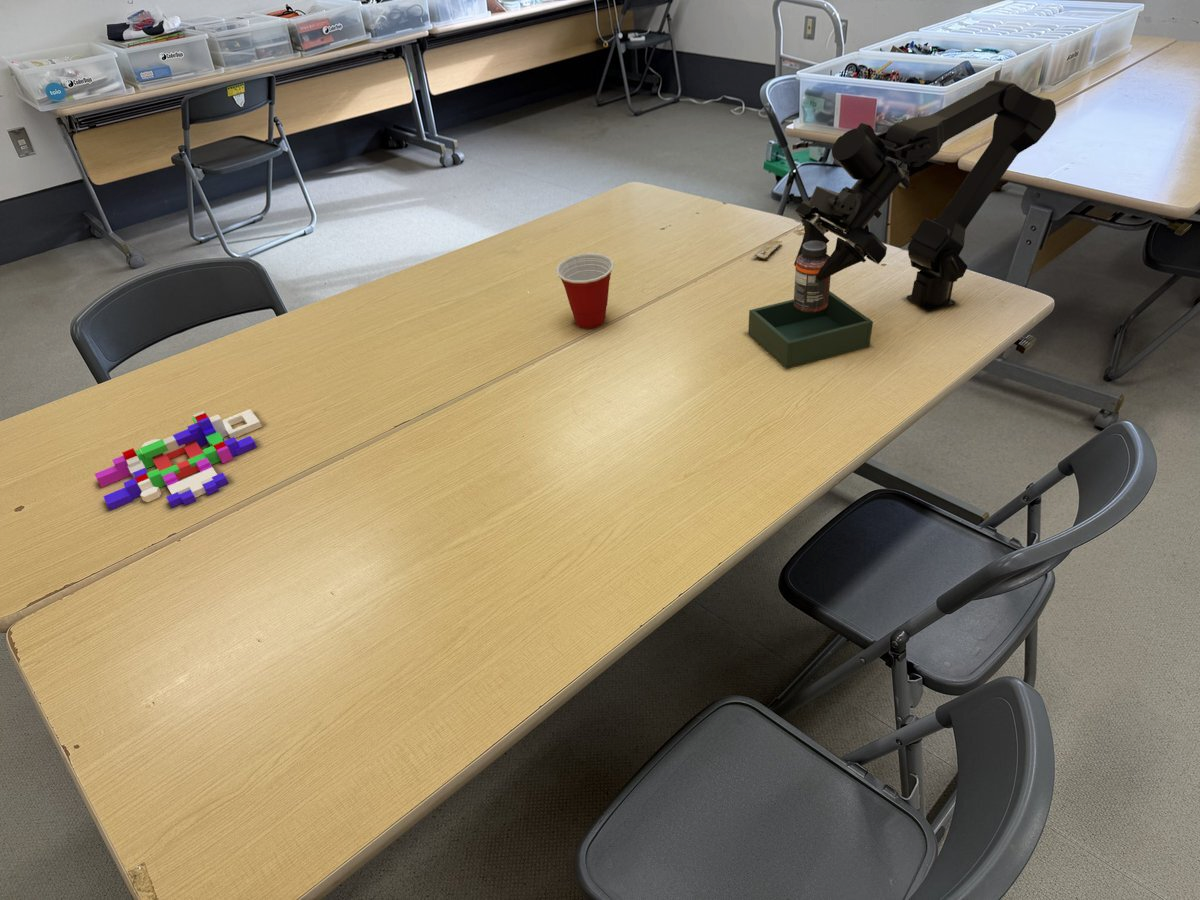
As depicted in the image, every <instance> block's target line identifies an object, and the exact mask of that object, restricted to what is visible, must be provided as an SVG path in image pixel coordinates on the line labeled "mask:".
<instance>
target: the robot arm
mask: <svg viewBox="0 0 1200 900" xmlns="http://www.w3.org/2000/svg"><path fill="white" fill-rule="evenodd" d="M994 115H996V117H995V119H994V122H993V128H992V136H991V141H990V142H989V144H988V145H987V147H986V148H985V149H984V151H983V153H982V154H981V156H979V159H978V160H977V161H976V163H975V164H974V166H972V169H970V172H969V173H968V174H967V176H966V178H965V179H964V181H963V182H962V183H961V185H960V186H959V187H958V189H957V190H956V192H955V194H954V195H953V197H951V199H950V201H949V202H948V203H947V205H946V207H945V208H944V210H942V212H941V214H939V215H938V216H937V217H935V218H933V219H929V218H924V219H923V220H922V221H921V222H920V224H919V226H918V228H917V229H916V231H915V232H914V233H913V234H912V235H910V238H909V239H911V240H910V242H909V244H908V245H907V252H908V253H907V256H908V259H909V260H910V266H911V267H912V268H915V269H916V270H918V271H917V272H916V276H915V280H914V281H913V284H912V292H911V294H908V295H907V296H906V300H908V301H909V302H911V303H912V304H914V305H916V306H917V307H918V308H920V309H922V310H923V311H925V312H928V313H929V312H933V311H938V310H941V309H945V308H949V307H953V306H956V304H957V302H956V300H954V299H952V298H951V297H952V293H953V288H954V284H955V282H958V280H959V279H962V278H963V277H964V275H965V274H966V271H967V270H968V267H969V266H968V264H967V263H965V260H963V259H962V258H961V256H960V254H961V252H962V250H963V249H964V246H965V238H966V230H967V228H968V226H969V225H970V223H972V221H973V219H974V218H975V216H976V215H977V213H978V212H979V210H980V209H981V207H982V206H983V205H984V203H985V202H986V200H987V199H988V198H989V196H990V194H991V193H992V192H993V191H994V189H995V187H996V186H997V185H998V184H999V183H1000V181H1001V179H1002V178H1003V176H1004V175H1005V173H1006V172H1007V171H1008V169H1009V167H1010V166H1011V165H1012V163H1013V162H1014V160H1015V159H1016V158H1017V156H1018V155H1019V154H1021V153H1022V152H1024V151H1026V150H1027V149H1029V148H1030V147H1032V146H1034V145H1036V144H1037V143H1038V142H1039V141H1040V140H1041V139H1042V138H1043V136H1044V135H1045V134H1046V133H1047V132H1048V131H1049V129H1050V128H1051V127H1052V125H1053V124H1054V122H1055V120H1056V118H1057V108H1056V104H1055V101H1054V100H1052V99H1050V98H1047V97H1043V96H1038V95H1034V94H1032V93H1031V92H1028V91H1026V90H1024V89H1023V88H1021V87H1020V86H1019V85H1018V84H1016V83H1014V82H1010V81H1006V80H1001V79H991V80H989V81H987V82H986V83H985V84H984V85H983V86H982V87H980V88H979V89H976V90H975V91H973V92H971V93H969V94H968V95H966V96H964V97H962V98H960V99H958V100H956V101H954V102H953V103H950V104H949V105H947V106H945V107H943V108H941V109H939V110H937V111H935V112H934V113H932V114H929V115H924V116H916V117H915V116H914V117H910V118H907V119H904V120H901V121H898V122H895V123H893V124H892V125H891V126H889V128H888V129H887V130H885V131H882V132H880V133H876V131H875V129H874V128H873V127H872V126H871V124H868V123H865V122H860V123H859V125H858V126H857V127H855V128H852V129H850V130H848V131H846V132H845V133H843V134H842V135H840V136H839V137H838V138H837V139H836V140H835V142H834V143H833V146H832V148H831V155H832V158H833V159H834V160H835V161H836V162H837V163H838V164H839V166H840V167H841V168H842V169H843V170H844V171H845V172H846V173H847V175H849V176H850V177H851V178H852V179H853V180H856V181H855V183H854V184H853V185H852V186H851V188H850V187H848V186H845V187H843V188H842V189H841V190H840V191H839V192H837V191H834V190H831V189H827V188H824V187H822V186H818V185H816V187H815V188H814V191H813V193H812V195H811V197H810V200H804V201H801V202H800V204H799V205H798V206H797V207H796V209H795V210H794V213H795V214H796V215H797V216H798V217H800V218H801V223H802V224H803V229H804V233H803V236H802V240H801V244H800V247H799V249H798V253H797V255H796V257H795V259H794V263H793V265H794V266H795V267H796V260H797V258H798V256H799V255H801V254H802V250H803V244H804V243H806V242H808V241H822V242H824V243H826V244H827V245H828V243H829V242H830V239H829V238H828V237H827V236H825V234H827V233H828V232H830V233H832V234H834V235H835V236H837V238H836V243H835V249H834V250H833V252H832V253H831V254H830V255H829V256H830V257H829V259H828V260H827V261H826V263H825V264H824V265H823V267H822V268H821V269H820V271H819V273H818V274H817V276H816V279H817V280H818V281H822V280H824V279H826V278H827V277H829V276H831V277H832V276H834V275H835V274H837V273H839V272H841V271H843V270H845V269H847V268H849V267H852V266H854V265H857V264H859V263H861V262H862V263H866V262H867V259H868V260H869V261H871V262H872V263H875V264H877V265H879V264H880V263H881V262H882V261H883V259H884V258H885V257H886V256H887V250H888V247H887V246H886V245H885V243H883V242H882V241H881V240H880V239H879V238H878V236H876V234H875V233H873V232H872V231H870V230H868V229H865V227H867V225H868V223H870V221H871V220H872V219H873V218H875V219H879V218H880V217H881V216H882V215H883V213H882V212H881V211H880V208H881V207H882V206H883V205H884V203H885V202H886V201H887V200H888V198H889V197H890V196H891V195H892V194H893V192H894V191H895V190H896V188H897V187H898V186H899V187H901V188H903V189H905V190H906V189H907V190H908V189H909V187H910V170H907V169H905V168H904V167H903V168H902V167H899V166H898V164H896V162H898V163H901V164H904V165H905V166H906V165H907V166H908V167H912V168H917V167H920V166H923V165H924V164H925V163H926V162H928V161H929V160H931V159H932V158H933V157H934V156H936V155H937V154H939V152H940V150H941V148H942V146H944V144H945V143H946V142H947V141H948V140H950V139H952V138H954V137H956V136H958V135H960V134H961V133H964V132H965V131H967V130H969V129H971V128H973V127H974V126H976V125H978V124H980V123H982V122H983V121H985V120H988V119H989V118H991V117H992V116H994ZM886 158H888V160H887V159H886ZM889 159H891V160H889ZM895 161H896V162H895Z"/></svg>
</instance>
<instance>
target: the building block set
mask: <svg viewBox="0 0 1200 900" xmlns="http://www.w3.org/2000/svg"><path fill="white" fill-rule="evenodd" d="M191 418H192V422H193V423H192V424H190V425H188V426H186V428H187V429H185V430H182V431H179V432H176V433H174V434H172V435H170V436H168V437H166V438H164V439H163V438H162V439H158V438H157V439H156V438H154V439H152V440H149V441H146V442H144V443H143V444H142V445H141V446H140V448H138V449H136V450H135V449H134V448H133V447H132V448H130V449H128V450H125V451H122V452H121V453H122V455H121V456H118V457H116V458H113V459H112V463H113V465H112V466H110V467H108V468H105V469H102V470H100V471H98V472H96V473H94V476H95V478H96V479H95V480H97V482H98V483H99V485H100V487H101V488H103V487H107V486H109V485H111V484H113V483H116V482H118V481H121V480H123V479H125V478H128V477H131V476H132V479H129V480H127V481H123V483H122V484H123V486H124V487H123V488H120V489H118V490H115V491H112V492H111V493H107V494H105V495H103V496H102V497H103V499H104V502H105V503H106V506H107V508H108V510H109V511H113V510H115V509H117V508H119V507H121V506H124V505H127V504H128V503H131V502H134V499H136V498H139V497H140V498H141V499H142V501H143V502H145V503H150V502H152V501H154V500H157V499H159V498H160V497H161V496H162V491H161V489H160V488H162V487H164V486H166V487H167V489H168V490H169V492H170V494H169V495H167V496H165V498H166V499H167V501H168V503H169V505H170V507H171V509H173V508H176V507H178V506H180V505H184V506H187V505H191V504H193V503H195V502H197V499H196V498H198V497H200V496H203V495H205V494H206V495H207V496H210V495H212V494H215V493H218V492H219V491H220V489H219V488H221V487H223V486H226V485H227V484H229V481H228V479H227V477H226V475H225V474H224V472H221V473H217V471H216V470H215V468H214V467H213V465H215V464H217V463H220V462H221V463H222V464H226V463H228V462H230V461H232V460H234V457H235V456H241V455H242V454H244V453H247V452H249V451H251V450H253V449H256V448H258V447H257V443H256V442H255V440H254V439H253V437H252V435H248V436H246V437H244V438H241V439H239V440H237V439H236V438H238V437H241V436H243V435H246V434H248V433H251V432H253V431H255V430H258V429H261V428H262V427H263V426H262V423H261V421H260V419H258V417H257V416H256V415H255V414H254V412H253V411H252V410H251V409H250V408H249V409H246V410H244V411H242V412H239V413H237V414H234V415H231V416H230V417H227V418H224V419H222V417H221V416H220V414H215V415H213V416H210V417H209V416H208V415H207V413H206V412H205V410H202V411H199V412H196V413H194V414H193V415H192V417H191ZM242 422H244V423H245V424H243V425H240V426H238V427H236V428H233V427H232V426H234V425H237V424H239V423H242ZM227 436H228V437H229V438H228V439H224V438H225V437H227ZM205 445H209V447H206V448H204V449H202V448H201V447H203V446H205ZM183 454H186V455H187V457H188V459H186V460H183V461H181V462H178V463H176V464H174V465H173V463H172V462H171V459H174V458H176V457H179V456H181V455H183ZM154 466H155V467H156V468H155V469H153V470H150V471H148V470H147V469H149V468H151V467H154ZM197 472H198V473H197ZM190 475H191V476H190Z"/></svg>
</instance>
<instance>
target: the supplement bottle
mask: <svg viewBox="0 0 1200 900" xmlns="http://www.w3.org/2000/svg"><path fill="white" fill-rule="evenodd" d="M827 253H828V243H827V244H826V243H824V242H822V241H808V242H806V243H804V244H803V250H802V254H801V255H799V256H798V258H797V260H796V259H795V260H796V266H795V270H794V287H793V288H794V289H793V299H794V306H795V307H796V308H797V309H798V310H800V311H803V312H818V311H821V310H824V309H825V308H826V307H827V306H828V301H829V291H830V288H831V277H832V275H831V276H829V277H827V278H826V279H824V280H822V281H818V280H817V279H816V276H817V274H818V273H819V271H820V269H821V268H822V267H823V265H824V264H825V263H826V261H827V260H828V259H829V257H830V256H831V255H829V254H827Z"/></svg>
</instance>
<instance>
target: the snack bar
mask: <svg viewBox="0 0 1200 900" xmlns="http://www.w3.org/2000/svg"><path fill="white" fill-rule="evenodd" d="M782 243H783V240H770V241H769V242H768V243H767V244H766V245H764V247H762V248H761V249H760V250H759V251H758V252H757V253H755V254H754V257H757V258H759V259H763V260H766V259H767V258H768V257H769V256H770V255H771V254H772V252H774V251H775V250H776V249H777V248H778V247H779V246H780V245H782Z"/></svg>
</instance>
